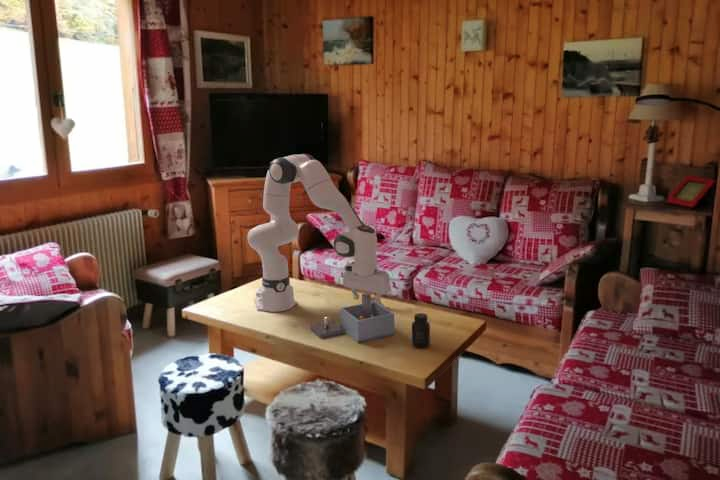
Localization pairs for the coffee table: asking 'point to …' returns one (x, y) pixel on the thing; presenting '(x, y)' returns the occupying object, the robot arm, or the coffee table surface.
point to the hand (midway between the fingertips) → (366, 301)
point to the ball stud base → (326, 328)
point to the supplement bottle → (420, 331)
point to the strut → (366, 307)
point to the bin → (367, 323)
